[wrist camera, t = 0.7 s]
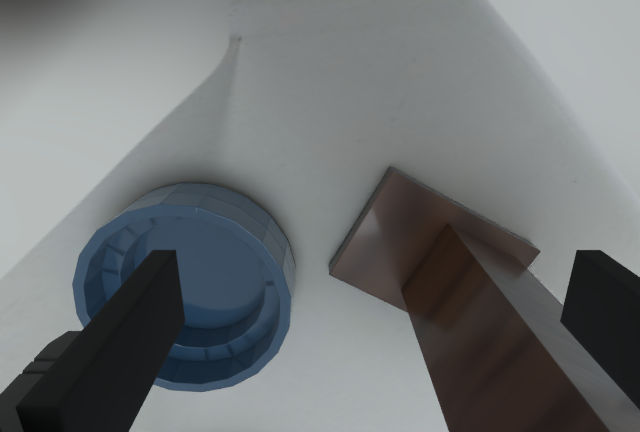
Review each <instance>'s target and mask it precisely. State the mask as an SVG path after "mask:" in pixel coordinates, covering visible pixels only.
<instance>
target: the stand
mask: <svg viewBox="0 0 640 432" xmlns="http://www.w3.org/2000/svg"><path fill="white" fill-rule="evenodd" d="M539 253H540V250H539V249H538V248H536V247H535V246H534V245H533V244H532V243H530V242H528V241H526V240H524V239H523V238H521V237H519V236H517V235H515V234H513V233H512V232H510V231H508V230H506V229H504V228H502V227H501V226H499V225H497V224H495V223H493V222H491V221H490V220H488V219H486V218H484V217H482V216H480V215H479V214H477V213H475V212H473V211H471V210H469V209H468V208H466V207H464V206H462V205H460V204H458V203H457V202H455V201H453V200H451V199H449V198H447V197H446V196H444V195H442V194H440V193H438V192H436V191H435V190H433V189H431V188H429V187H427V186H425V185H424V184H422V183H420V182H418V181H416V180H415V179H413V178H411V177H409V176H407V175H405V174H404V173H402V172H400V171H398V170H396V169H394V168H393V167H390V168H389V169H388V171H387V172H386V174H385V176H384V177H383V179H382V181H381V182H380V184H379V185H378V187H377V189H376V190H375V192H374V194H373V195H372V197H371V199H370V200H369V202H368V203H367V205H366V207H365V208H364V210H363V212H362V213H361V215H360V216H359V218H358V220H357V221H356V223H355V225H354V226H353V228H352V230H351V231H350V233H349V234H348V236H347V238H346V239H345V241H344V243H343V244H342V246H341V247H340V249H339V251H338V252H337V254H336V256H335V257H334V259H333V260H332V262H331V264H330V265H329V275H331V276H333V277H335V278H337V279H339V280H341V281H344V282H346V283H348V284H350V285H352V286H354V287H356V288H358V289H360V290H362V291H364V292H366V293H368V294H370V295H373V296H375V297H377V298H379V299H381V300H383V301H385V302H387V303H389V304H391V305H393V306H395V307H397V308H399V309H402V310H404V311H406V312H408V314H409V316H410V319H411V322H412V325H413V328H414V331H415V334H416V337H417V340H418V343H419V346H420V348H421V351H422V354H423V357H424V360H425V363H426V366H427V369H428V372H429V375H430V378H431V381H432V383H433V386H434V389H435V392H436V395H437V398H438V401H439V404H440V407H441V410H442V413H443V415H444V418H445V421H446V424H447V427H448V430H449V432H640V410H639V409H638V408H637V407H636V405H635V404H634V403H633V402H632V401H631V400H630V399H629V398H628V397H627V395H626V394H625V393H624V392H623V391H622V390H621V389H620V388H619V387H618V385H617V384H616V383H615V382H614V381H613V380H612V379H611V378H610V377H609V375H608V374H607V373H606V372H605V371H604V370H603V369H602V368H601V367H600V365H599V364H598V363H597V362H596V361H595V360H594V359H593V358H592V357H591V355H590V354H589V353H588V352H587V351H586V350H585V349H584V348H583V347H582V345H581V344H580V343H579V342H578V341H577V340H576V339H575V338H574V337H573V335H572V334H571V333H570V332H569V331H568V330H567V329H566V328H565V327H564V325H563V324H562V323H561V322H560V319H561V315H562V311H563V307H564V306H563V305H562V304H561V303H560V302H559V301H558V300H557V299H556V298H555V297H554V296H553V295H552V294H551V293H550V292H549V291H548V290H547V289H546V288H545V287H544V286H543V285H542V284H541V283H540V282H539V281H538V279H537V278H536V277H535V276H534V275H533V274H532V273H531V272H530V271H529V270H528V269H527V268H528V267H529V265H530V264H531V263H532V262H533V260H534V259H535V258H536V257H537V255H538V254H539Z"/></svg>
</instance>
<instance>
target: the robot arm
mask: <svg viewBox="0 0 640 432" xmlns="http://www.w3.org/2000/svg"><path fill="white" fill-rule="evenodd" d="M560 322H561V323H562V324H563V325H564V327H565V328H566V329H567V330H568V331H569V332H570V333H571V334H572V335H573V337H574V338H575V339H576V340H577V341H578V342H579V343H580V344H581V345H582V347H583V348H584V349H585V350H586V351H587V352H588V353H589V354H590V355H591V357H592V358H593V359H594V360H595V361H596V362H597V363H598V364H599V365H600V367H601V368H602V369H603V370H604V371H605V372H606V373H607V374H608V375H609V377H610V378H611V379H612V380H613V381H614V382H615V383H616V384H617V385H618V387H619V388H620V389H621V390H622V391H623V392H624V393H625V394H626V395H627V397H628V398H629V399H630V400H631V401H632V402H633V403H634V404H635V405H636V407H637V408H638V409H639V410H640V277H638V276H637V275H635V274H634V273H633V272H631V271H630V270H628V269H627V268H625V267H624V266H622V265H621V264H620V263H618V262H617V261H615V260H614V259H612V258H611V257H609V256H608V255H607V254H605V253H604V252H602V251H601V250H577V252H576V256H575V260H574V264H573V269H572V273H571V277H570V281H569V285H568V290H567V294H566V298H565V302H564V307H563V311H562V315H561V319H560ZM184 323H185V314H184V306H183V299H182V292H181V284H180V277H179V269H178V262H177V254H176V250H152V251H151V252H150V253H149V254H148V256H147V257H146V258H145V259H144V260H143V261H142V262H141V264H140V265H139V266H138V267H137V268H136V269H135V270H134V272H133V273H132V274H131V275H130V276H129V277H128V279H127V280H126V281H125V282H124V283H123V284H122V285H121V287H120V288H119V289H118V290H117V291H116V292H115V293H114V295H113V296H112V297H111V298H110V299H109V300H108V301H107V303H106V304H105V305H104V306H103V307H102V308H101V309H100V311H99V312H98V313H97V314H96V315H95V316H94V317H93V319H92V320H91V321H90V322H89V323H88V324H87V325H86V327H85V328H84V329H83V330H82V331H68V332H66V333H65V334H63V335H62V336H60V337H58V338H57V339H55V340H54V341H52V342H50V343H49V344H48V345H47V346H46V347H45V348H44V349H43V350H42V351H41V352H40V353H39V354H38V355H37V356H36V357H35V358H34V362H31V363H30V364H29V365H28V366H27V367H26V368H25V369H24V370H23V373H22V374H19V375H18V376H17V377H16V378H15V379H14V381H13V382H12V383H11V384H10V385H9V386H8V387H7V388H6V389H5V390H4V391H3V392H2V393H1V394H0V432H129V430H130V428H131V426H132V424H133V422H134V420H135V418H136V416H137V414H138V412H139V410H140V408H141V407H142V405H143V403H144V401H145V399H146V397H147V395H148V393H149V391H150V389H151V387H152V385H153V383H154V381H155V379H156V377H157V375H158V373H159V372H160V370H161V368H162V366H163V364H164V362H165V360H166V358H167V356H168V354H169V352H170V350H171V348H172V346H173V344H174V342H175V340H176V338H177V336H178V335H179V333H180V331H181V329H182V327H183V325H184Z"/></svg>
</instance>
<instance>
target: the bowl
mask: <svg viewBox="0 0 640 432" xmlns="http://www.w3.org/2000/svg"><path fill="white" fill-rule="evenodd" d="M152 250H176V254H177V262H178V269H179V277H180V284H181V292H182V299H183V306H184V314H185V323H184V325H183V327H182V329H181V331H180V333H179V335H178V336H177V338H176V340H175V342H174V344H173V346H172V348H171V350H170V352H169V354H168V356H167V358H166V360H165V362H164V364H163V366H162V368H161V370H160V372H159V373H158V375H157V377H156V379H155V381H154V383H153V385H156V386H159V387H163V388H166V389H169V390H175V391H192V392H205V391H210V390H215V389H221V388H226V387H231V386H234V385H236V384H238V383H240V382H242V381H244V380H246V379H248V378H250V377H251V376H253V375H255V374H257V373H258V372H259V371H260V370H261V369H262V368H263V367H264V366H265V365H266V364H267V363H268V362H269V361H270V360H271V359H272V358H273V357H274V356H275V355H276V354H277V353H278V352H279V350H280V347H281V345H282V343H283V341H284V339H285V337H286V334H287V332H288V330H289V327H290V319H291V311H292V302H293V293H294V279H295V263H294V260H293V257H292V253H291V250H290V246H289V243H288V240H287V238H286V237H285V235H284V234H283V233H282V231H281V230H280V228H279V227H278V225H277V224H276V223H275V221H274V220H273V218H272V217H271V216H270V215H269V214H268V213H266V212H265V211H264V210H263V209H261V208H260V207H259V206H257V205H256V204H255V203H253V202H252V201H251V200H250V199H248V198H247V197H245V196H243V195H241V194H238V193H236V192H233V191H230V190H228V189H225V188H223V187H220V186H217V185H210V184H197V183H179V184H175V185H171V186H167V187H162V188H158V189H154V190H152V191H151V192H149V193H148V194H146V195H144V196H143V197H141V198H140V199H138V200H137V201H135V202H134V203H132V204H130V205H129V206H128V207H126V208H125V209H124V210H123V211H121V212H120V213H119V214H117V215H116V216H115V217H113V218H112V219H111V220H110V221H108V222H107V223H106V224H104V225H103V226H102V227H100V228H99V229H98V230H97V231H96V232H95V234H94V235H93V236H92V238H91V239H90V241H89V242H88V243H87V245H86V246H85V248H84V249H83V250H82V252H81V253H80V255H79V258H78V262H77V266H76V271H75V275H74V279H73V283H72V284H73V285H72V286H73V293H74V300H75V306H76V313H77V316H78V318H79V320H80V322H81V323H82V325H83V327H84V328H85V327H86V325H87V324H88V323H89V322H90V321H91V320H92V319H93V317H94V316H95V315H96V314H97V313H98V312H99V311H100V309H101V308H102V307H103V306H104V305H105V304H106V303H107V301H108V300H109V299H110V298H111V297H112V296H113V295H114V293H115V292H116V291H117V290H118V289H119V288H120V287H121V285H122V284H123V283H124V282H125V281H126V280H127V279H128V277H129V276H130V275H131V274H132V273H133V272H134V270H135V269H136V268H137V267H138V266H139V265H140V264H141V262H142V261H143V260H144V259H145V258H146V257H147V256H148V254H149V253H150V252H151V251H152Z"/></svg>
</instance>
